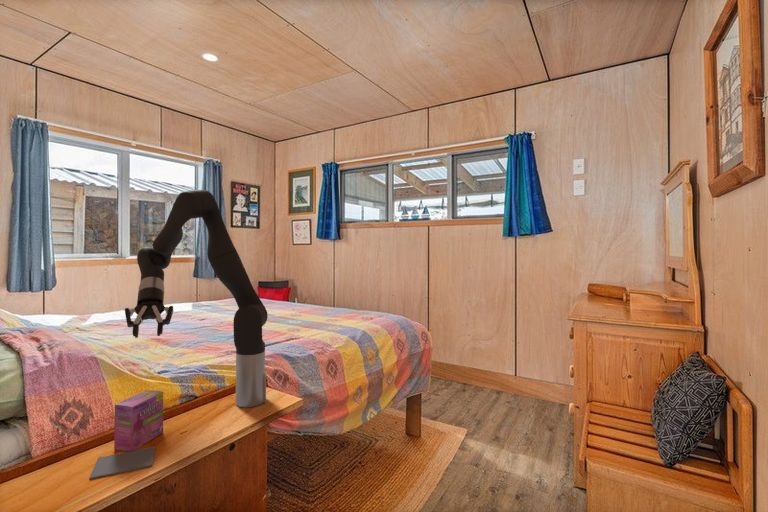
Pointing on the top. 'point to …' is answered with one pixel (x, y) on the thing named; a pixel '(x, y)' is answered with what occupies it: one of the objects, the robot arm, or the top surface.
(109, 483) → the top surface
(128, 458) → the mat
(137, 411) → the box
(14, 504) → the top surface
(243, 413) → the top surface
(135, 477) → the top surface
